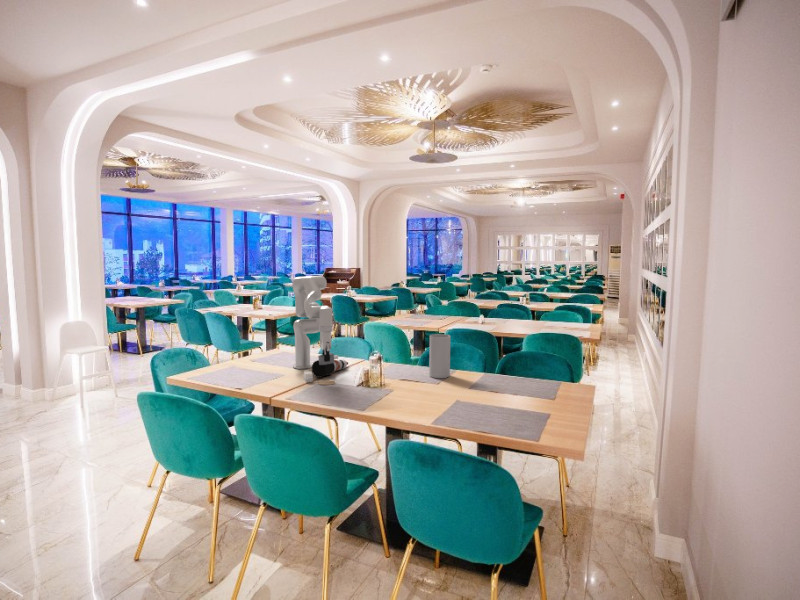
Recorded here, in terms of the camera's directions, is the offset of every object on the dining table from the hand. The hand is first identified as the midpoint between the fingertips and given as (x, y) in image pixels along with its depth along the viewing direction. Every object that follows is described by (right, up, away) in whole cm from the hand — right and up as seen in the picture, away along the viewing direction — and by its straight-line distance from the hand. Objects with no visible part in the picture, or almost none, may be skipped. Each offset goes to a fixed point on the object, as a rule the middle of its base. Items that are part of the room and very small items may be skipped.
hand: (326, 360), depth 261 cm
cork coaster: (0, -13, +1) cm, 13 cm away
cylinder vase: (+67, -12, +18) cm, 70 cm away
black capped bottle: (0, -11, +26) cm, 28 cm away
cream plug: (-11, -13, +5) cm, 18 cm away
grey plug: (+1, -2, +1) cm, 2 cm away
